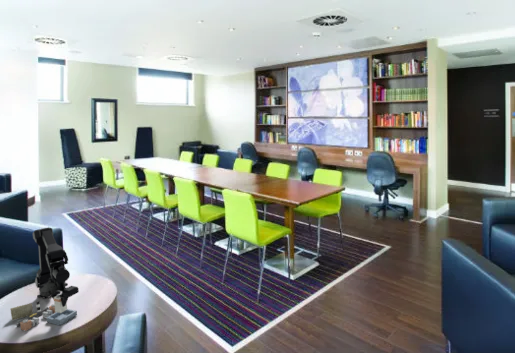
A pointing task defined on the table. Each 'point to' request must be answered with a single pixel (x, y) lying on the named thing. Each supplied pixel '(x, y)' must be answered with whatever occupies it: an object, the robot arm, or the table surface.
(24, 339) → the table surface
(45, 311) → the fuse block
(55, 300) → the marked fuse
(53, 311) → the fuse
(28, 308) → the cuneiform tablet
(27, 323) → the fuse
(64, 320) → the tray
